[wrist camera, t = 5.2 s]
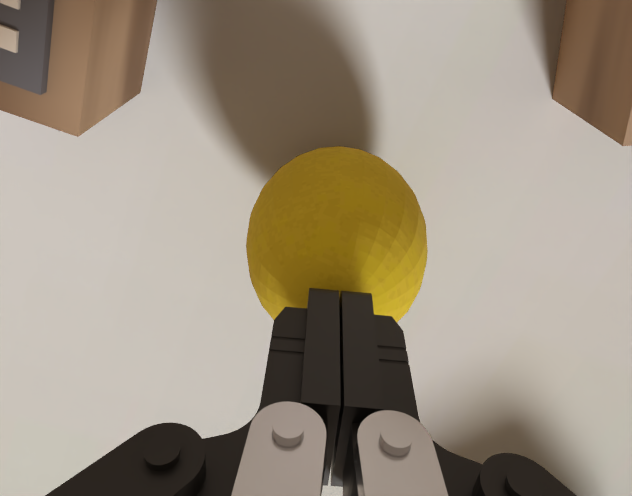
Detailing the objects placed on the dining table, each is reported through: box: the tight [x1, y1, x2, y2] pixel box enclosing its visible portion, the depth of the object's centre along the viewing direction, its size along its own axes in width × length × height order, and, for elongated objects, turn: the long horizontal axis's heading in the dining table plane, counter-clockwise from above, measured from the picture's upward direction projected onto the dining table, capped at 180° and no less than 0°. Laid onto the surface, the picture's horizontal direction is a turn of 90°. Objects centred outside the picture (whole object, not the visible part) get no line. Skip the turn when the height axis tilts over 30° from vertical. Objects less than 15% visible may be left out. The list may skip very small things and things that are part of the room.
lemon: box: [246, 146, 427, 322], centre depth 16 cm, size 6×6×8 cm
